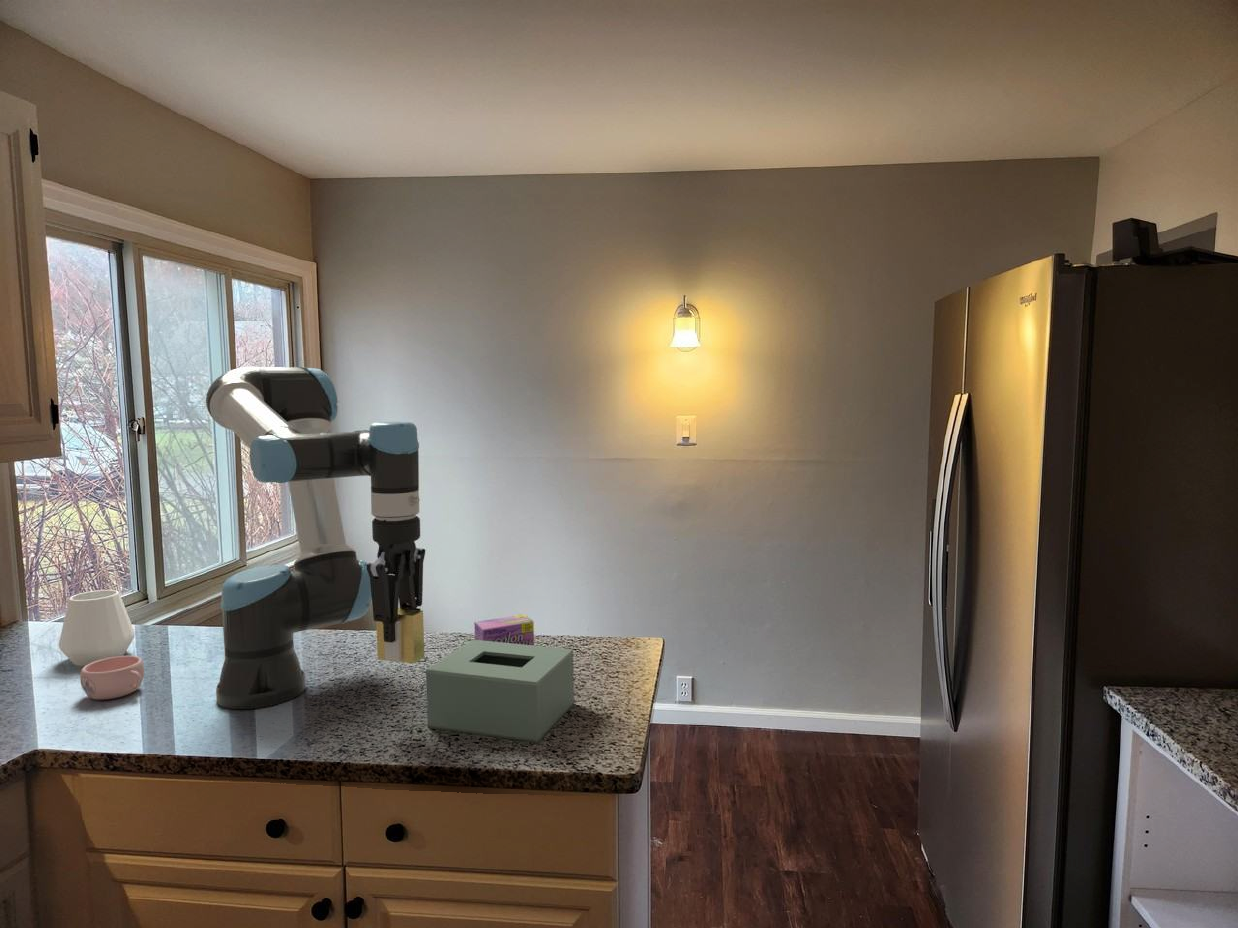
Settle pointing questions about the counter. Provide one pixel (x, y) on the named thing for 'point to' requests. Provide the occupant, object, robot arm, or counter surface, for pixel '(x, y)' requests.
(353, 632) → the counter surface
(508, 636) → the box
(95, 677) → the mug
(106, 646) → the white faceted vase
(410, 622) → the tan rectangular block
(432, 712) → the box
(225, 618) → the robot arm
